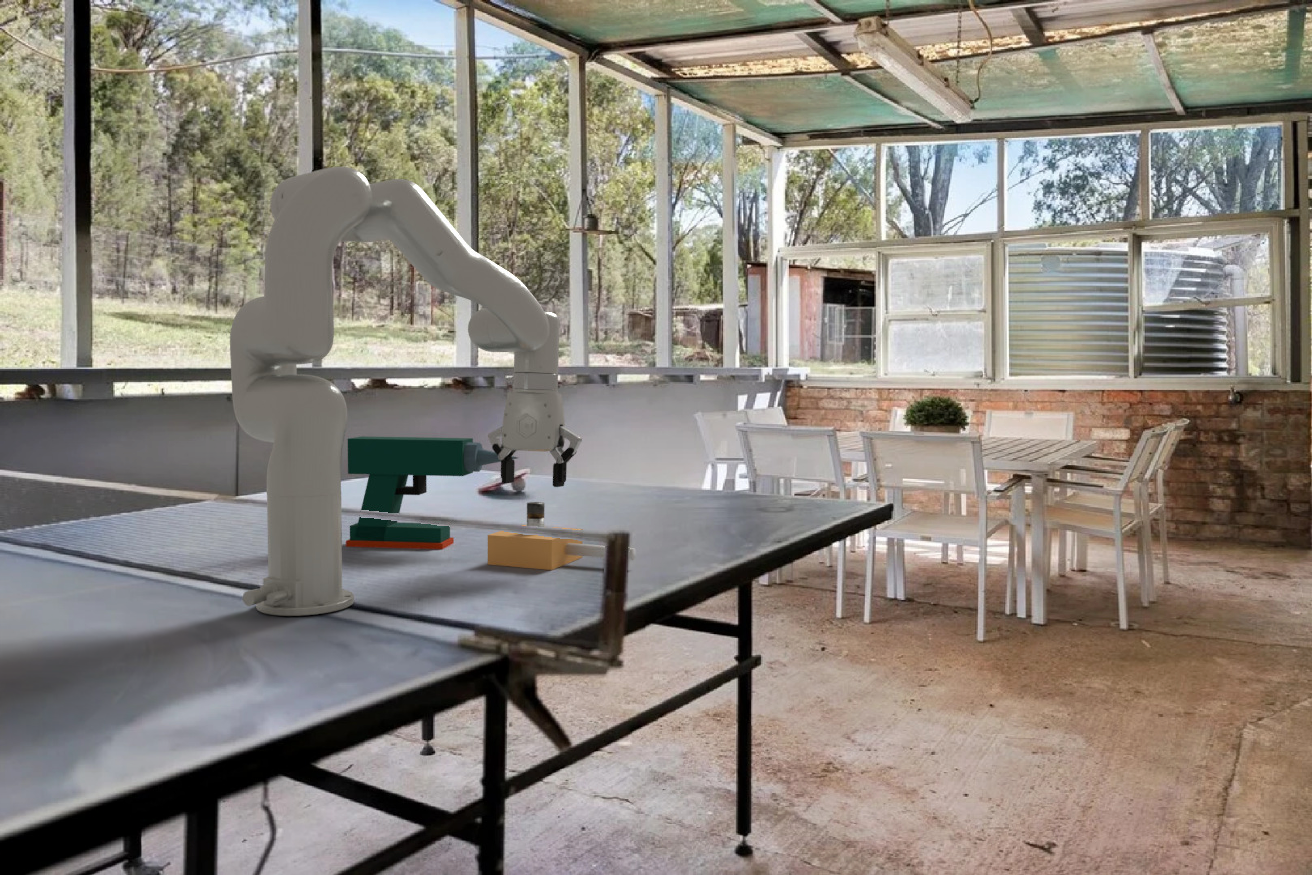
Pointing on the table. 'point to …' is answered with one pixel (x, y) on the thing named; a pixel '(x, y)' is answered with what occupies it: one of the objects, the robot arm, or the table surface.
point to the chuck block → (539, 550)
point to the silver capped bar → (535, 514)
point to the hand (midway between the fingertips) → (532, 484)
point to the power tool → (388, 484)
